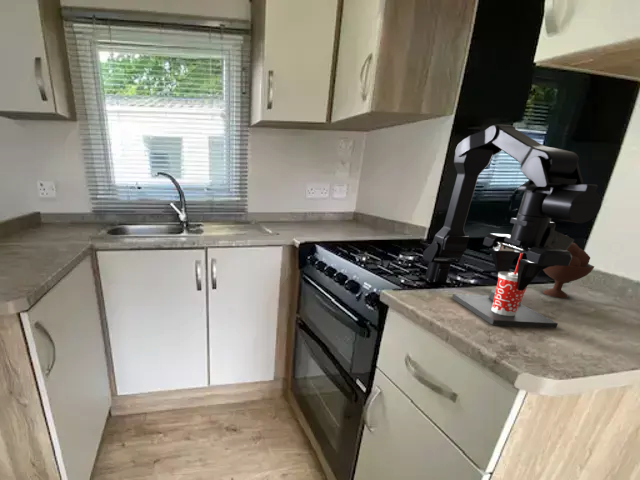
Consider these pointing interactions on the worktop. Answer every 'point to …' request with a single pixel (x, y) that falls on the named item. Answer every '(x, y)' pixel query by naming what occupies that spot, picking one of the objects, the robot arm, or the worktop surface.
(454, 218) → the robot arm
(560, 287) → the ice cream bowl
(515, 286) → the beverage cup
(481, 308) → the scale
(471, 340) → the worktop surface
